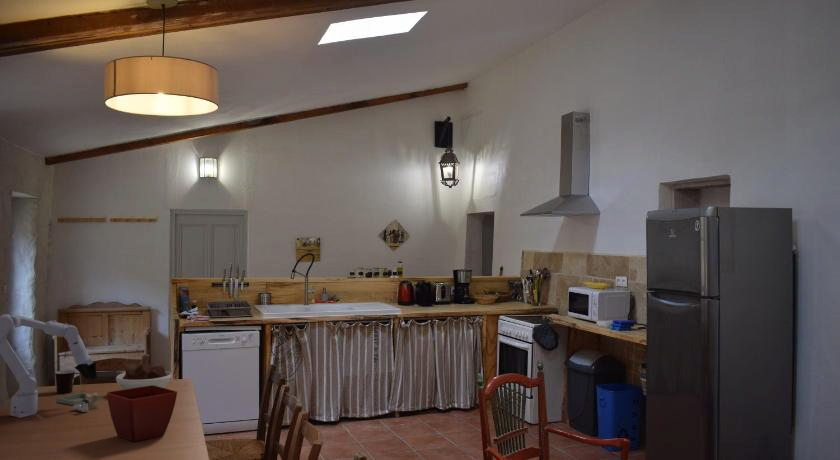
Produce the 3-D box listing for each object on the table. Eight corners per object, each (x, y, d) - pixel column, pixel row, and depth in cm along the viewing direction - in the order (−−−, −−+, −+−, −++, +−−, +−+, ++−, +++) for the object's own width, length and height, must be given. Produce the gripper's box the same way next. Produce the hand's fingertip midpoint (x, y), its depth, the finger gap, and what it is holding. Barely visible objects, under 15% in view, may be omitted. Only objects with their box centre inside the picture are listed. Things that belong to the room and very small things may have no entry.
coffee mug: (68, 394, 321) (68, 373, 321) (50, 394, 321) (51, 373, 322) (81, 389, 333) (81, 369, 333) (64, 389, 333) (64, 369, 333)
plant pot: (152, 426, 268) (152, 384, 269) (177, 435, 256) (178, 391, 257) (104, 436, 254) (105, 392, 254) (129, 446, 241) (130, 400, 242)
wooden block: (88, 410, 290) (88, 396, 290) (85, 407, 293) (86, 394, 293) (97, 408, 293) (98, 395, 293) (94, 406, 296) (95, 392, 295)
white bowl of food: (115, 391, 329) (116, 360, 330) (169, 387, 340) (169, 357, 340) (115, 402, 307) (116, 369, 307) (173, 397, 317) (173, 366, 318)
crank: (71, 409, 289) (72, 397, 289) (80, 408, 292) (80, 395, 292) (83, 413, 282) (83, 401, 283) (92, 412, 285) (92, 399, 285)
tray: (74, 407, 297) (75, 401, 297) (56, 403, 303) (56, 398, 303) (100, 401, 309) (100, 395, 309) (82, 397, 315) (82, 392, 315)
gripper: (93, 346, 292) (106, 374, 295) (81, 346, 302) (93, 373, 305) (78, 354, 287) (90, 382, 290) (66, 354, 297) (78, 381, 300)
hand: (91, 378), depth 297 cm, fingers open, 7 cm apart
